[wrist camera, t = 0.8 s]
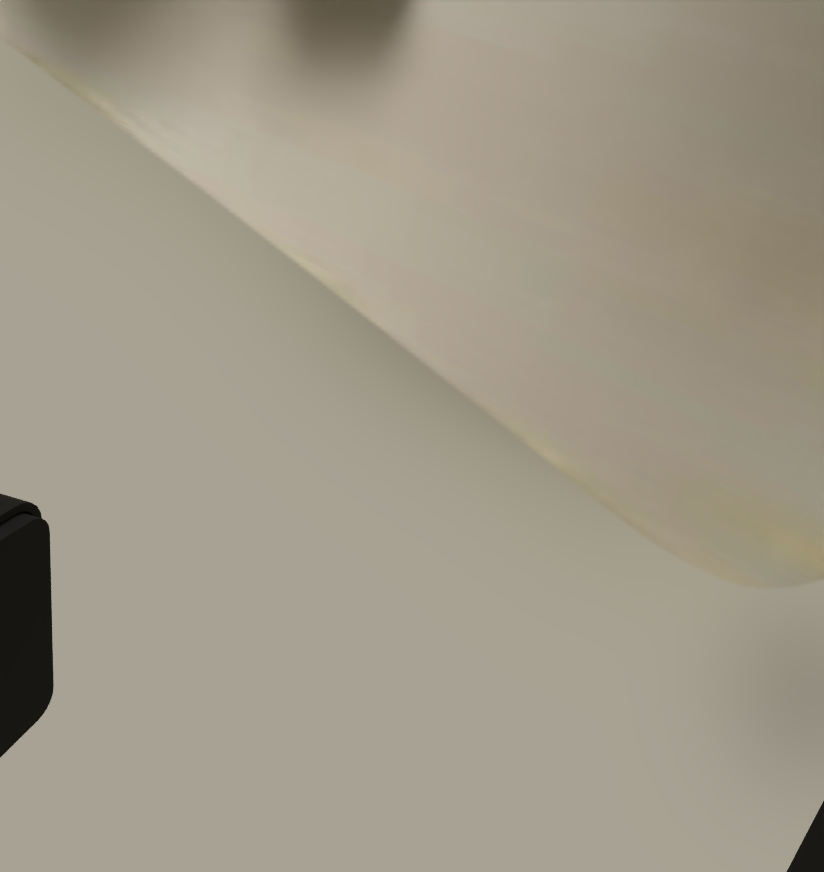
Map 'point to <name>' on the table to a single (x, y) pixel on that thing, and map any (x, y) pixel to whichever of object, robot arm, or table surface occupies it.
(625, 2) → the table surface
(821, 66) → the table surface
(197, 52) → the table surface
